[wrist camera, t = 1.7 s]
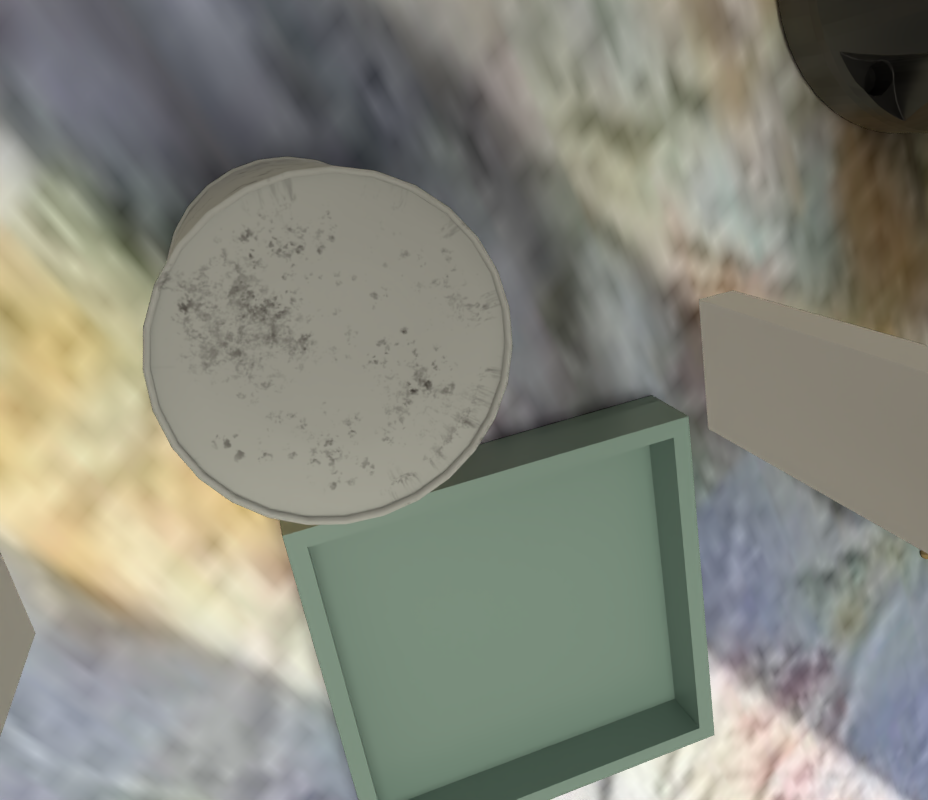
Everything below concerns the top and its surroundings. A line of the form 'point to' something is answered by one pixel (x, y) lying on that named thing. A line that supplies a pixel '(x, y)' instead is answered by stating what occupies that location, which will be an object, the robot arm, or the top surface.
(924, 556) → the rock
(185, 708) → the top surface
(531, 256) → the top surface
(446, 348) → the speckled white canister
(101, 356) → the top surface
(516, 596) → the tray
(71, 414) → the top surface
